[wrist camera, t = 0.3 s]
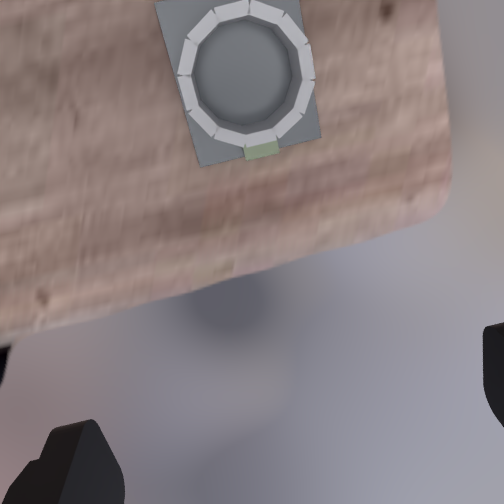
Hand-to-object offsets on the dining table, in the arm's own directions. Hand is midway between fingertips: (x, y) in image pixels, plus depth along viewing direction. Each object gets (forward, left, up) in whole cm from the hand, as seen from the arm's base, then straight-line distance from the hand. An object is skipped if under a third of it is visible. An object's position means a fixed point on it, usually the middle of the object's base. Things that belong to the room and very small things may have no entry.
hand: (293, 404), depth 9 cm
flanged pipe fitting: (-5, +2, -28) cm, 28 cm away
